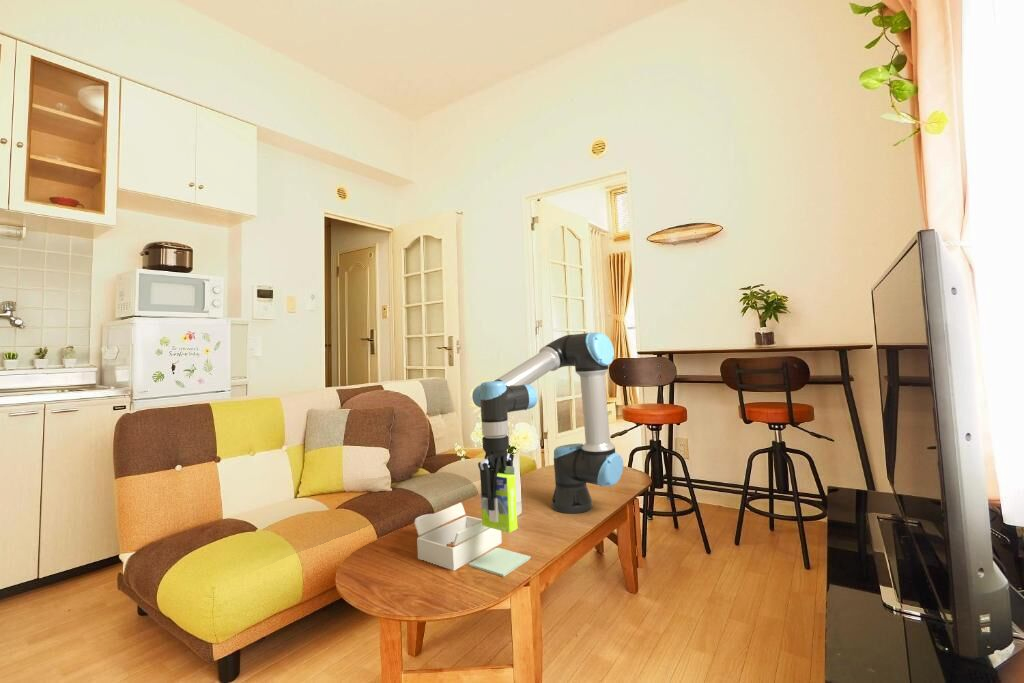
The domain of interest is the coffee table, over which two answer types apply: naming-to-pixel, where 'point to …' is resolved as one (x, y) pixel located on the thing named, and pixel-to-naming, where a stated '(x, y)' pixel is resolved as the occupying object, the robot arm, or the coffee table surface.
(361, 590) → the coffee table surface
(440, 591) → the coffee table surface
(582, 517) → the coffee table surface
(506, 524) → the box
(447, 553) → the white open carton
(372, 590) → the coffee table surface
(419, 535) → the candle
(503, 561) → the mat
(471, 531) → the flap near
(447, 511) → the flap far
